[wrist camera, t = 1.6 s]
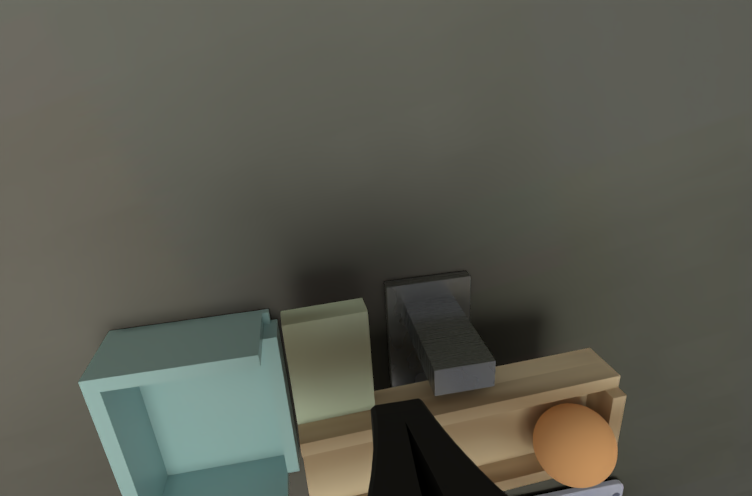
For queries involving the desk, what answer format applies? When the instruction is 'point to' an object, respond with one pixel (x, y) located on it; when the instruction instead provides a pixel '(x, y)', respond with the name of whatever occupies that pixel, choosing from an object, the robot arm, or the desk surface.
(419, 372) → the stand
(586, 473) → the ball
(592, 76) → the desk surface
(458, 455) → the robot arm
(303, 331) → the beige tray
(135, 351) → the dish
